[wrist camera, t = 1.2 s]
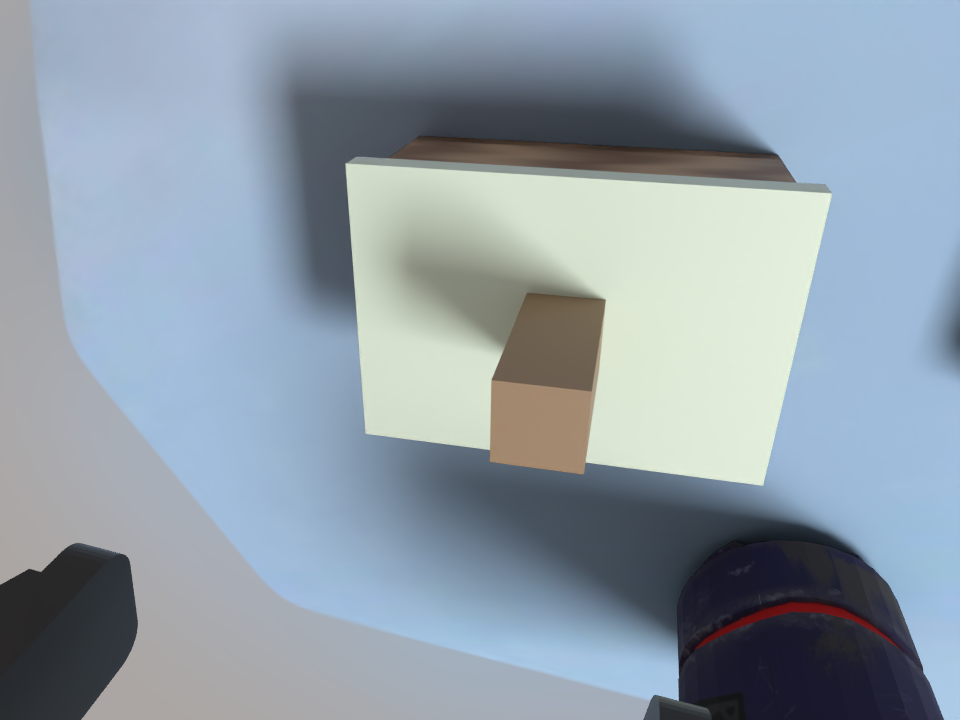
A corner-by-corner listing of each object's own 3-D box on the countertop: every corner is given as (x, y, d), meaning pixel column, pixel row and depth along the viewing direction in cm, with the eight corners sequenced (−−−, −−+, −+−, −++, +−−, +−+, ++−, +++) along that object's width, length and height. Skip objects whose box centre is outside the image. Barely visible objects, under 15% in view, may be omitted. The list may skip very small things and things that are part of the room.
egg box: (777, 154, 32) (806, 197, 26) (734, 377, 37) (749, 457, 31) (420, 135, 35) (369, 170, 28) (425, 344, 40) (384, 411, 34)
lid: (821, 180, 26) (890, 267, 18) (757, 460, 31) (790, 616, 24) (362, 153, 29) (256, 217, 21) (378, 412, 34) (299, 537, 27)
